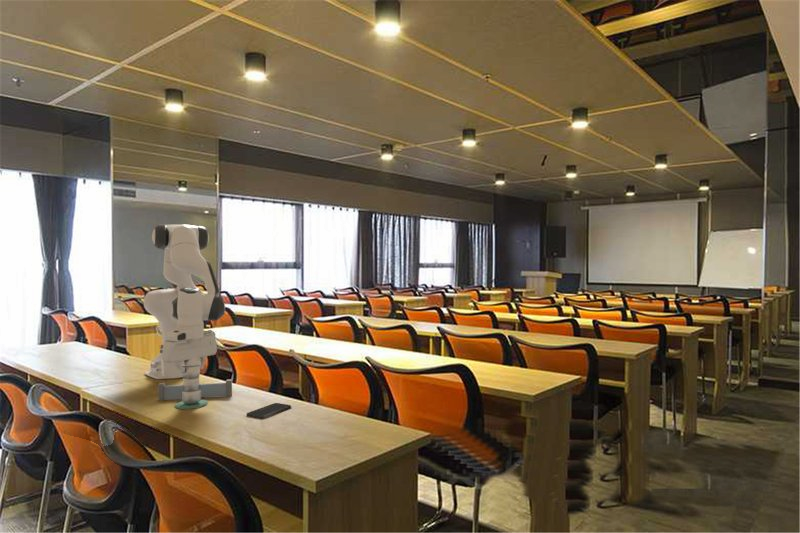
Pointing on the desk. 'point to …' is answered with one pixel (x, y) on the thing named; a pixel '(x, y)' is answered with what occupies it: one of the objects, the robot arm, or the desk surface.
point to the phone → (268, 410)
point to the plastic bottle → (191, 381)
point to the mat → (191, 405)
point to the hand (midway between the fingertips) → (191, 371)
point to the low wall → (206, 389)
